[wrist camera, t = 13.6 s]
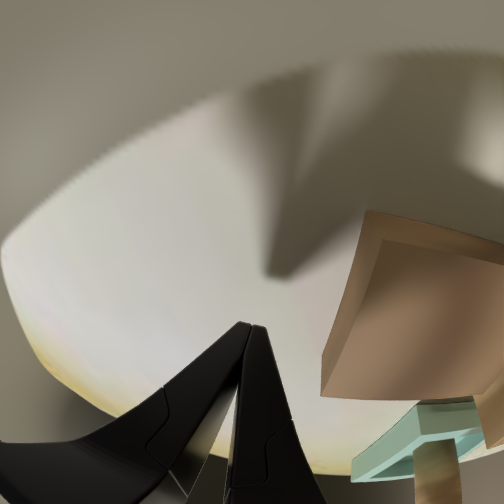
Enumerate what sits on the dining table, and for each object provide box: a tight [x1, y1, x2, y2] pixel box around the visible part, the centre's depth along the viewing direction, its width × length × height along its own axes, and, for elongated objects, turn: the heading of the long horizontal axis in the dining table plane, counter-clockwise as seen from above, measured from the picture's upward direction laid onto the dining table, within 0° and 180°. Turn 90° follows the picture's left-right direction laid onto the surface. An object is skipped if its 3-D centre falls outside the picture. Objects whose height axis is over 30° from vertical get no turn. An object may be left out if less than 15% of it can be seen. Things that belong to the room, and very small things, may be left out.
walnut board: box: [320, 210, 504, 400], centre depth 7 cm, size 8×6×2 cm
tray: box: [351, 401, 485, 482], centre depth 11 cm, size 9×9×2 cm
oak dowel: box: [413, 438, 462, 504], centre depth 9 cm, size 3×3×7 cm
